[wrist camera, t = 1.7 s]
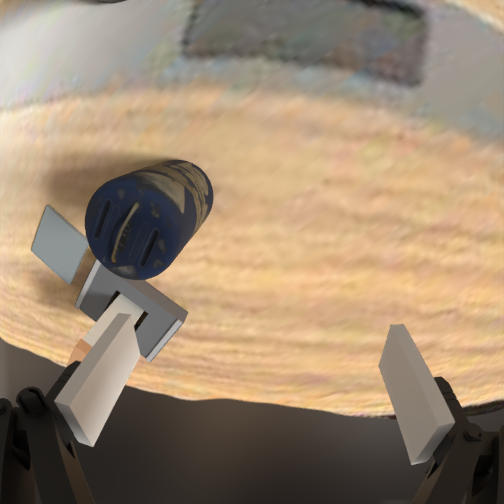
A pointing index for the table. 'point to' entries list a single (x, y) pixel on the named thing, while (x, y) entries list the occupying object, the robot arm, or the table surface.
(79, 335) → the table surface
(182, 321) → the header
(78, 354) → the plug
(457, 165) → the table surface
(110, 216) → the canister
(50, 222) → the pad
